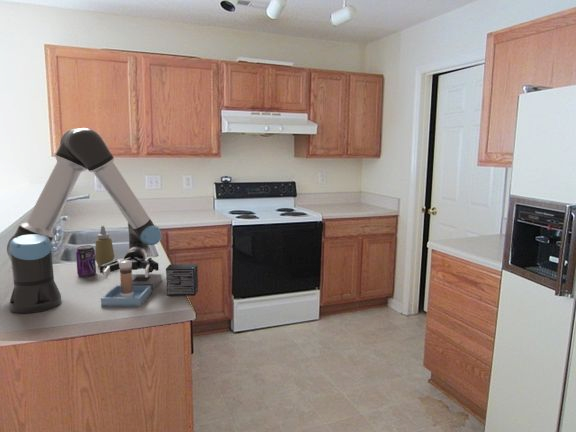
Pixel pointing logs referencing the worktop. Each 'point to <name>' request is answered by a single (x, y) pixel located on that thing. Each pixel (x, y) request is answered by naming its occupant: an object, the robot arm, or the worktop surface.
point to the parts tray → (116, 300)
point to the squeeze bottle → (103, 248)
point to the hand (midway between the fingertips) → (125, 274)
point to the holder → (146, 280)
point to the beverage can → (85, 260)
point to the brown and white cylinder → (126, 278)
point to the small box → (182, 279)
